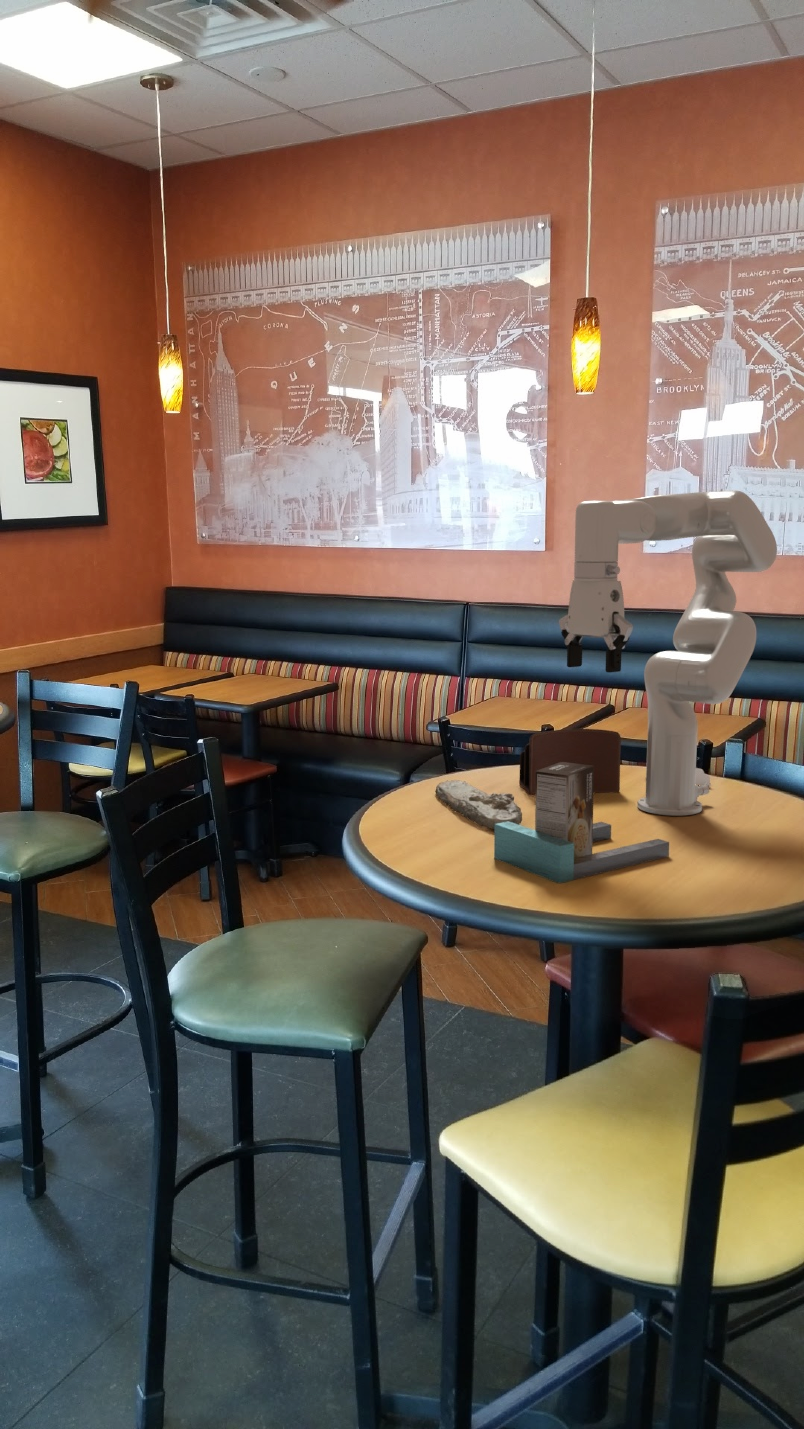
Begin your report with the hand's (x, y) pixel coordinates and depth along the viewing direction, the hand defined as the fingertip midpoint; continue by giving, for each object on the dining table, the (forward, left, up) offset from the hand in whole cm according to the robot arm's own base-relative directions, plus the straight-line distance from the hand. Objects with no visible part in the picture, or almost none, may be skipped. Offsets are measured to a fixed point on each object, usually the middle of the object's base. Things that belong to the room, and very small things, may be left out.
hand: (593, 669), depth 185 cm
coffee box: (+16, +10, -31) cm, 36 cm away
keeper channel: (+12, +10, -30) cm, 34 cm away
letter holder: (-22, -29, -31) cm, 47 cm away
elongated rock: (+6, -25, -31) cm, 41 cm away
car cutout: (-45, -18, -31) cm, 58 cm away
